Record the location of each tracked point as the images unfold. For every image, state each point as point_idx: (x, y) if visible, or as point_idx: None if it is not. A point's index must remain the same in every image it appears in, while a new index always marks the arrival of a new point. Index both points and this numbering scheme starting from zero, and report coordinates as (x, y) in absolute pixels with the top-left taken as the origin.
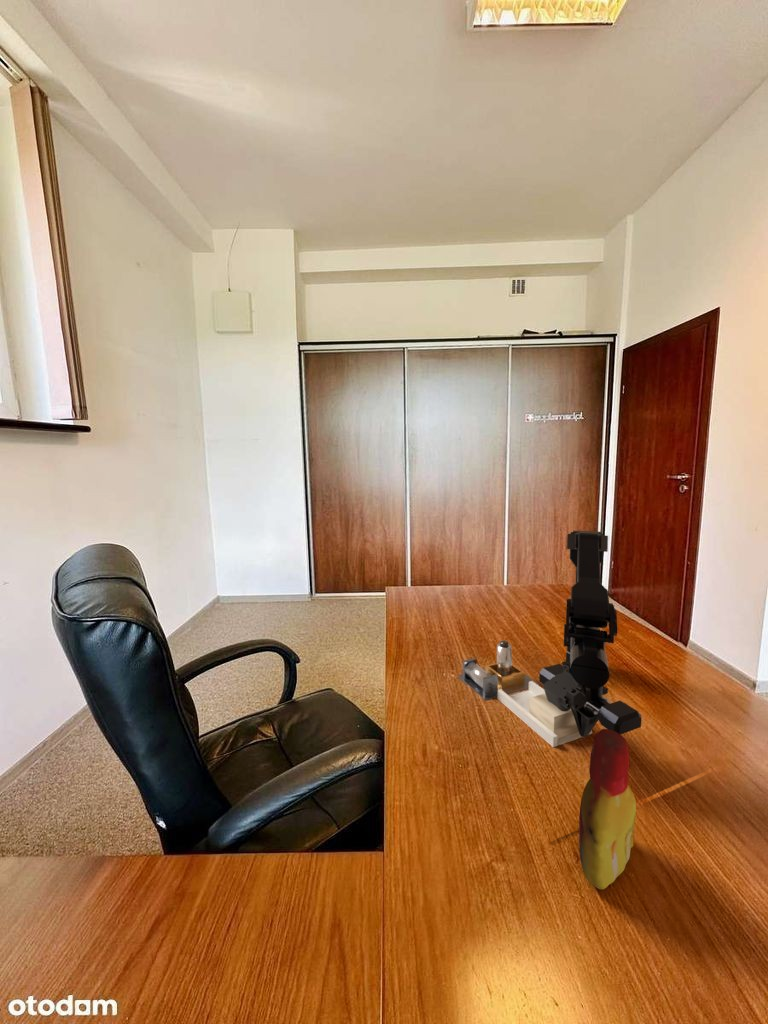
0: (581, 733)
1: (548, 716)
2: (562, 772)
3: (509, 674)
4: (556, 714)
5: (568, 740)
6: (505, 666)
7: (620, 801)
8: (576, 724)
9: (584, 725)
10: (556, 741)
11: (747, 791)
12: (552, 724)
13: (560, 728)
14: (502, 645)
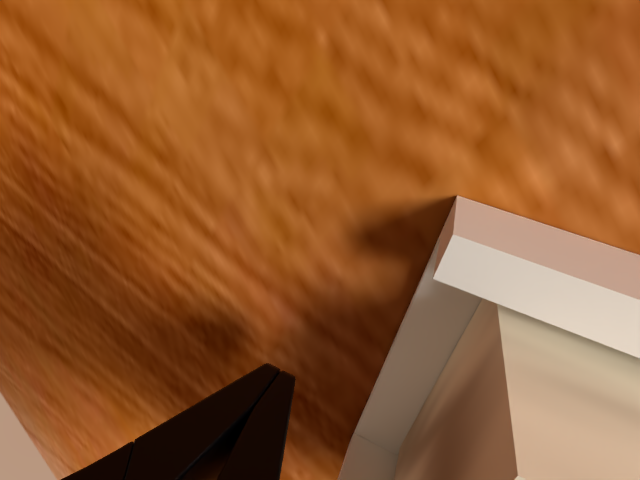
0: (263, 384)
1: (628, 471)
2: (285, 17)
3: None
4: None
5: (409, 337)
6: None
7: None
8: (280, 450)
9: (143, 447)
10: (441, 248)
11: (17, 402)
12: (529, 379)
13: (464, 388)
14: None
